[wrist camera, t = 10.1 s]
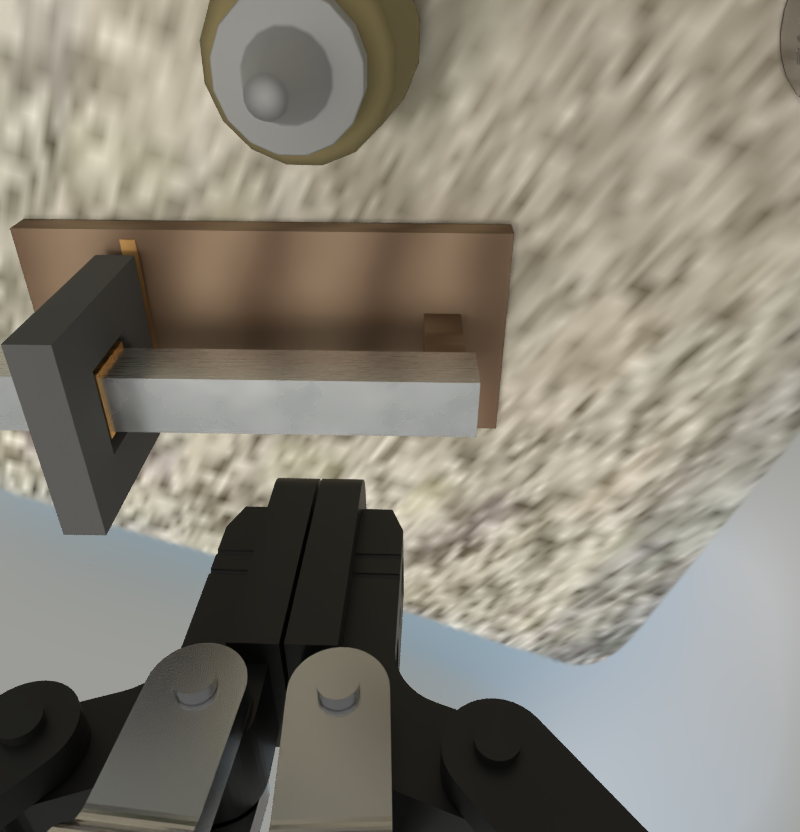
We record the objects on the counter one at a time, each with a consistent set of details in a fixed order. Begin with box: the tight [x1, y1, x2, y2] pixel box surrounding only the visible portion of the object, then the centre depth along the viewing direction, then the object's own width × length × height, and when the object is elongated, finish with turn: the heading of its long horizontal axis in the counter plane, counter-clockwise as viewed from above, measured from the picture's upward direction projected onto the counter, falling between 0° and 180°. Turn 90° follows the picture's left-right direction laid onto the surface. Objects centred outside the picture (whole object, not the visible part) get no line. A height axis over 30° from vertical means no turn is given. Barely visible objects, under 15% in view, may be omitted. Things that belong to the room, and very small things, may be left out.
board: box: [10, 219, 514, 428], centre depth 39 cm, size 26×12×6 cm, turn 90°
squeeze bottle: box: [200, 0, 420, 165], centre depth 26 cm, size 8×8×18 cm
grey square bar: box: [0, 341, 480, 439], centre depth 35 cm, size 24×4×4 cm, turn 90°
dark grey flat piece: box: [1, 255, 160, 535], centre depth 35 cm, size 2×10×10 cm, turn 0°
